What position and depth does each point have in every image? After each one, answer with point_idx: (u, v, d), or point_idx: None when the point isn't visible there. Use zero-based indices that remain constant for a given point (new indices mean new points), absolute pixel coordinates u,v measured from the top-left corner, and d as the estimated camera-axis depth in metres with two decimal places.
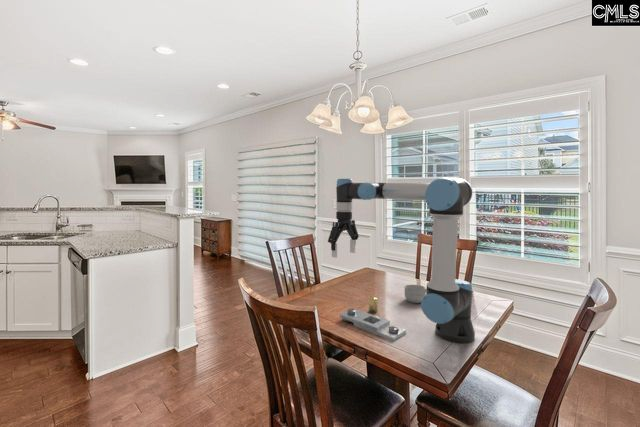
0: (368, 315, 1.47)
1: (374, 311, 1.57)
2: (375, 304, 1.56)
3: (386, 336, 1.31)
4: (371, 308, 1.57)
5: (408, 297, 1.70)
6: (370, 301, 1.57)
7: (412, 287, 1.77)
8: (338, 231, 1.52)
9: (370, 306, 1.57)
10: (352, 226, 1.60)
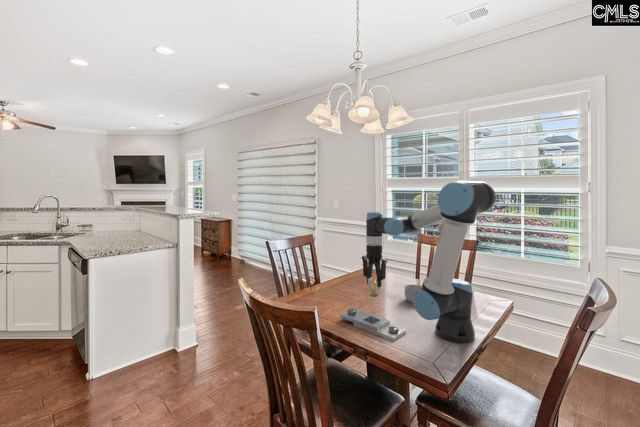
0: (368, 315, 1.47)
1: (375, 294, 1.55)
2: None
3: (386, 336, 1.31)
4: (372, 291, 1.55)
5: (408, 297, 1.70)
6: (371, 284, 1.56)
7: (412, 287, 1.77)
8: None
9: (371, 289, 1.56)
10: None
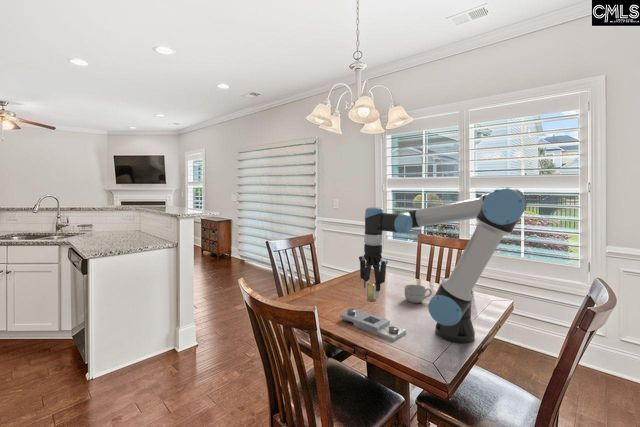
0: (368, 315, 1.47)
1: (373, 299, 1.39)
2: None
3: (386, 336, 1.31)
4: (370, 296, 1.39)
5: (408, 297, 1.70)
6: (369, 288, 1.39)
7: (412, 287, 1.77)
8: None
9: (369, 294, 1.40)
10: None
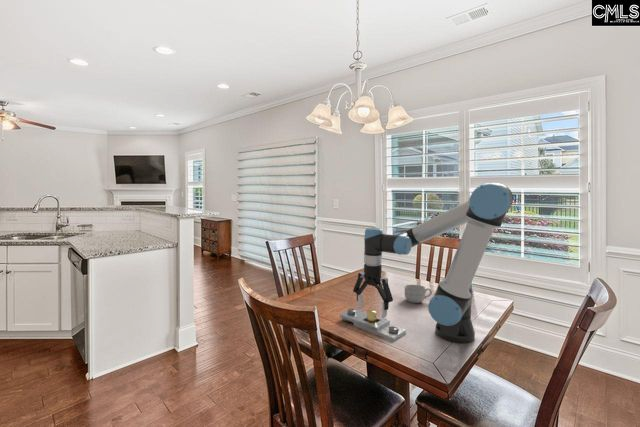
0: None
1: None
2: (374, 318, 1.40)
3: (386, 336, 1.31)
4: None
5: (408, 297, 1.70)
6: (369, 315, 1.40)
7: (412, 287, 1.77)
8: None
9: (369, 320, 1.41)
10: None
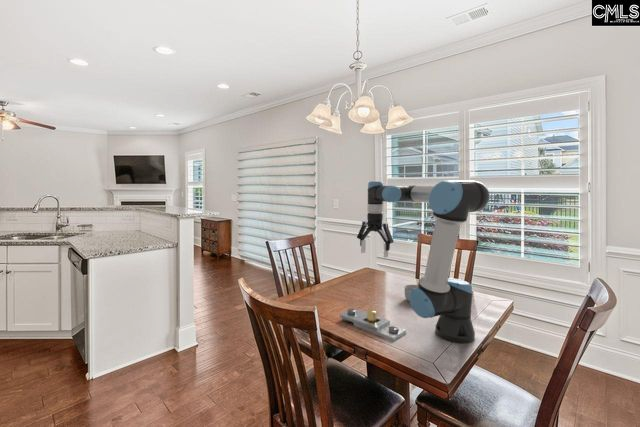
0: None
1: None
2: (374, 318, 1.40)
3: (386, 336, 1.31)
4: None
5: (408, 297, 1.70)
6: (369, 315, 1.40)
7: (412, 287, 1.77)
8: None
9: (369, 320, 1.41)
10: None
